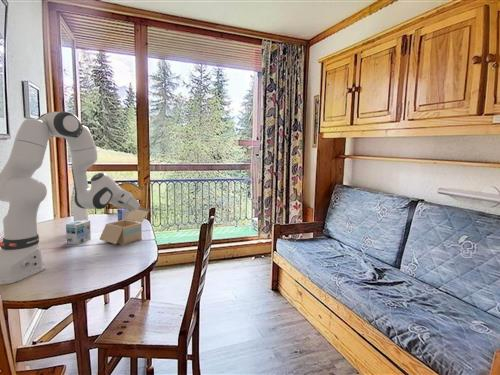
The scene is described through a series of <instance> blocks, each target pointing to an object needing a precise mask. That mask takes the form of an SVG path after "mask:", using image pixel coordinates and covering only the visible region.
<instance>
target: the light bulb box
mask: <svg viewBox="0 0 500 375" xmlns="http://www.w3.org/2000/svg"><path fill="white" fill-rule="evenodd" d="M65 230H66V231H65V234H66V235H65V236H66V244H69V245H75V246H77V245H80V244H82V243H85V242H88V241H91V238H92V236H91V235H92V234H91V220H88V221H87V220H78V221H75V222H74V221H72V222H68V223H66V224H65Z"/></svg>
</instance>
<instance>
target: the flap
mask: <svg viewBox="0 0 500 375" xmlns="http://www.w3.org/2000/svg"><path fill="white" fill-rule="evenodd" d="M150 211H151V209H150V208H145V207H141V206H140V207H139V208H138V210H134V212H130V213H129V215H128V216H127V218H126V219H127V220H132V221H135V222H138V223H141V224H142V223H143V222H144V220H145V218H146V217H147V216H148V213H149V212H150Z"/></svg>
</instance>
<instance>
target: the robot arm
mask: <svg viewBox="0 0 500 375" xmlns="http://www.w3.org/2000/svg"><path fill="white" fill-rule="evenodd" d="M51 138H63V139H65V140H66V142H67V143H68V147H69V150H70V156H71V174H72V181H73V186H74V196H75V197H74V196H73V198H74V200H75V203H76V205H77V206H78V207H80V208H83V209H87V208H88V209H90V210H91V209H92V210H102V209H105V208H106V207H107V206H108V205H109V203H110V205H112V206H113V207H114V208H115V207H116V208H120V209H122V208H125V209H127V210H128V211H129V212H134V210H138V208H139V207H140V208H141V204H140V202H139V201H138V199H136V198H135V197H134V196H133V193H131V192H129V191H127V190H125V189H124V188H122V187H121V186H120V185H119V184H117V183H116V181H115V180H114V179H113V178H112V177H111V176H110V175H108V174H107V173H105V172H99V173H97V174H96V173H95V174H94V175H93V176H92V177H91V178H90V182H91V185H90V186H91V187H90V186H89V182H88V176H87V171H88V169H89V168H90V167H92V166H93V165H95V163H96V162H97V160H98V151H97V147H96V143H95V141H94V138H93V135H92V133H91V131H90V129H89V128H88V127H87V126H85V125H83V124H82V122H81V120H80V119H79V118H78V116H76V114H74V113H73V112H69V111H51V112H47V113H43V114H41V115H40V116H39V117H38V118H26V119H24V120H23V121H22V123H21V124H20V127H19V128H18V131H17V132H16V136H15V138H14V141H13V145H12V149H11V151H10V155H9V158H8V160H7V161H6V164H4V167H3V169H2V170H1V171H0V201H2V202H4V203H5V202H6V203H9V204H8V205H9V206H8V210H7V214H6V215H5V216H4V217H3V220H2V226H3V239H2V240H1V241H0V285H1V286H2V285H10V284H14V283H16V282H18V281H21V280H23V279H25V278H28V277H31V276H33V275H36V274H37V273H40V272H42V271H45V270H47V268H46V266H45V264H44V261H43V255H42V250H41V248H40V246H39V245H40V244H39V243H40V236H39V233H38V222H37V217H38V212H39V208H40V204H41V203H42V202H43V201H44V200H45V198H46V197H47V193H48V190H47V186H46V184H44V183H43V182H42V181H40V180H38V179H35V178H33V177H32V176H33V175H34V173H35V172H36V171H37V170H38V169H39V168H41V167H42V165H43V162H44V159H45V154H46V151H47V148H48V147H47V146H48V143H49V141H50V139H51Z"/></svg>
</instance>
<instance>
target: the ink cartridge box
mask: <svg viewBox="0 0 500 375" xmlns="http://www.w3.org/2000/svg"><path fill="white" fill-rule="evenodd" d="M116 210H117V211H116V213H117V221H121V220H127V219H126V218H127V216H128V215H129V213H130V212H129V211H128V210H127V209H125V208H118V209H116ZM129 221H132V220H129ZM134 222H136V221H134Z"/></svg>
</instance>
